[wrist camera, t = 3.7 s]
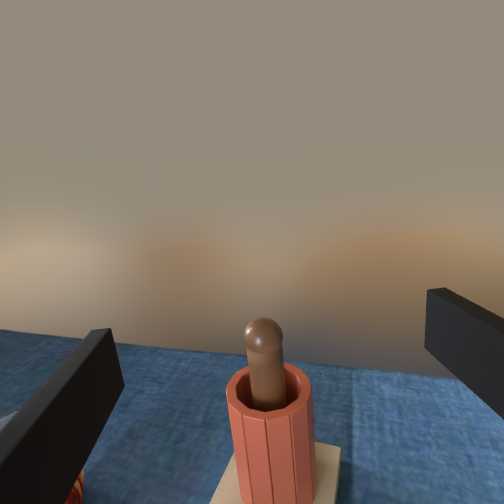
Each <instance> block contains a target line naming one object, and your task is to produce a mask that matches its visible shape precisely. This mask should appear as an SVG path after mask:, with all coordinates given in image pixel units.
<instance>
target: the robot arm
mask: <svg viewBox="0 0 504 504" xmlns="http://www.w3.org/2000/svg"><path fill="white" fill-rule="evenodd" d="M424 347H425V349H426V350H428V351H429V352H430V353H431V354H432V355H433V356H434V357H435V358H436V359H437V360H438V361H439V362H441V363H442V364H443V365H444V366H445V367H446V368H447V369H448V370H450V371H451V372H452V373H453V374H454V375H455V376H456V377H457V378H458V379H459V380H461V381H462V382H463V383H464V384H465V385H466V386H467V387H468V388H469V389H470V390H472V391H473V392H474V393H475V394H476V395H477V396H478V397H479V398H480V399H482V400H483V401H484V402H485V403H486V404H487V405H488V406H489V407H490V408H492V409H493V410H494V411H495V412H496V413H497V414H498V415H499V416H500V417H501V418H503V419H504V319H503V318H501V317H499V316H498V315H496V314H494V313H492V312H490V311H488V310H486V309H484V308H482V307H481V306H479V305H477V304H475V303H473V302H471V301H469V300H467V299H466V298H464V297H462V296H460V295H458V294H456V293H454V292H452V291H451V290H449V289H447V288H438V289H429V290H427V303H426V326H425V346H424ZM124 387H125V384H124V380H123V376H122V372H121V368H120V364H119V360H118V356H117V352H116V347H115V343H114V339H113V335H112V332H111V328H106V329H97V330H91V331H90V332H89V334H88V335H87V336H86V337H85V338H84V339H83V340H82V341H81V342H80V343H79V345H78V346H77V347H76V348H75V349H74V350H73V351H72V352H71V353H70V354H69V355H68V357H67V358H66V359H65V360H64V361H63V362H62V363H61V364H60V365H59V366H58V368H57V369H56V370H55V371H54V372H53V373H52V374H51V375H50V376H49V377H48V379H47V380H46V381H45V382H44V383H43V384H42V385H41V386H40V387H39V388H38V390H37V391H36V392H35V393H34V394H33V395H32V396H31V397H30V398H29V399H28V400H27V402H26V403H25V404H24V405H23V406H22V407H21V408H20V409H19V410H18V411H17V412H11V413H10V414H8V415H7V416H6V417H4V418H3V419H2V420H0V504H65V502H66V500H67V498H68V496H69V494H70V492H71V490H72V488H73V486H74V484H75V482H76V480H77V478H78V476H79V475H80V473H81V471H82V469H83V467H84V465H85V463H86V461H87V459H88V457H89V455H90V453H91V451H92V449H93V447H94V445H95V443H96V441H97V439H98V437H99V435H100V434H101V432H102V430H103V428H104V426H105V424H106V422H107V420H108V418H109V416H110V414H111V412H112V410H113V408H114V406H115V404H116V402H117V400H118V398H119V396H120V395H121V393H122V391H123V389H124Z"/></svg>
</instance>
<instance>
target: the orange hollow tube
mask: <svg viewBox="0 0 504 504" xmlns="http://www.w3.org/2000/svg"><path fill="white" fill-rule="evenodd" d="M284 374H285V386H286V399H287V407H286V408H284V409H279V410H274V411H269V412H262V411H257V410H254V409H253V400H252V392H251V383H250V374H249V366H247V367H245V368H243V369H241V370H240V371H238V372H236V373H235V374H234V375H233V377H232V378H231V380H230V381H229V383H228V385H227V387H226V392H227V402H228V409H229V417H230V424H231V431H232V438H233V445H234V452H235V459H236V466H237V473H238V480H239V487H240V494H241V498H242V501H243V502H244V503H245V504H313V502H314V498H315V492H316V487H317V471H316V453H315V435H314V417H313V399H312V385H311V383H310V381H309V379H308V378H307V376H306V374H305V373H304V371H302V370H301V369H299V368H297V367H296V366H294V365H292V364H291V363H290V364H289V363H286V362H284Z"/></svg>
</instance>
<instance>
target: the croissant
mask: <svg viewBox="0 0 504 504" xmlns="http://www.w3.org/2000/svg"><path fill="white" fill-rule="evenodd" d="M83 490H84V469H82V471H81V473H80V475H79V476H78V478H77V480H76V482H75V484H74V486H73V488H72V490H71V492H70V494H69V496H68V498H67V500H66V502H65V504H83V502H82V493H83Z"/></svg>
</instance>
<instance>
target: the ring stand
mask: <svg viewBox="0 0 504 504" xmlns="http://www.w3.org/2000/svg"><path fill="white" fill-rule="evenodd" d="M282 340H283V334H282V330H281V328H280V326H279V325H278V324H277V323H276V322H275V321H274V320H272V319H270V318H267V317H259V318H256V319H254V320H252V321H251V322H250V323H249V324H248V326H247V327H246V329H245V333H244V341H245V345H246V349H247V357H248V366H249V374H250V383H251V392H252V400H253V409H254V410H257V411H262V412H269V411H274V410H279V409H284V408H286V407H287V399H286V386H285V374H284V362H283V350H282ZM315 453H316V471H317V487H316V492H315V498H314V502H313V504H336V501H337V492H338V484H339V475H340V466H341V448H340V447H336V446H332V445H328V444H324V443H320V442H316V441H315ZM210 504H245V503H244V502H243V501H242V498H241V494H240V487H239V480H238V473H237V466H236V459H235V452H234V454H233V456H232V458H231V460H230V462H229V464H228V466H227V468H226V471H225V473H224V475H223V477H222V479H221V481H220V483H219V485H218V487H217V489H216V491H215V493H214V495H213V498H212V500H211V502H210Z"/></svg>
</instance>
